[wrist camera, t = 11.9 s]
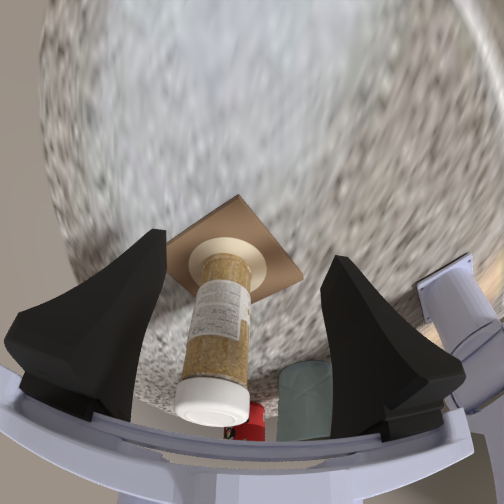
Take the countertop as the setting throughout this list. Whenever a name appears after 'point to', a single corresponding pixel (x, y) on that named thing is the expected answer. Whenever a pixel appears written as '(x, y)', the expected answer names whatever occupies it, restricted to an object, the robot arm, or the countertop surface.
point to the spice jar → (218, 346)
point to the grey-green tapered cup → (305, 402)
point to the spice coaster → (232, 250)
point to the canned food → (249, 426)
